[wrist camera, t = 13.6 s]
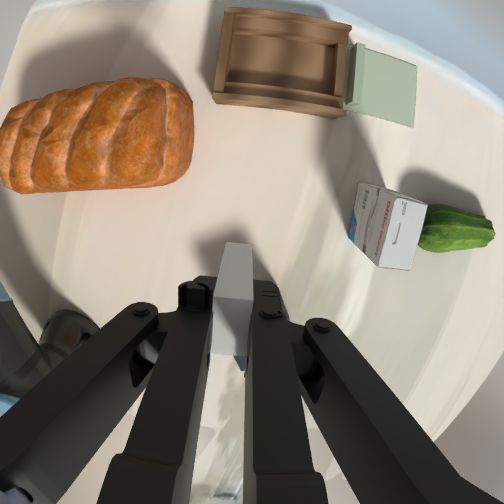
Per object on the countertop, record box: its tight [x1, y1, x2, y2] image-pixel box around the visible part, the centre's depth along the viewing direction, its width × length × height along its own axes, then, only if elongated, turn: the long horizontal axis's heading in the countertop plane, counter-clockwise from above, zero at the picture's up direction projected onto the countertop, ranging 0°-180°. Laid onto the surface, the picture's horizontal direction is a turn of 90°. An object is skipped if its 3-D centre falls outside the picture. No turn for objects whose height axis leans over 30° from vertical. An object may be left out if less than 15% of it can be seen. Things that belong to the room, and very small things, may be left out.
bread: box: [0, 78, 194, 194], centre depth 30 cm, size 14×26×16 cm, turn 88°
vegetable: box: [418, 204, 495, 253], centre depth 39 cm, size 7×7×20 cm
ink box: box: [348, 182, 428, 271], centre depth 36 cm, size 8×5×12 cm, turn 172°
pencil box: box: [212, 7, 352, 119], centre depth 32 cm, size 16×13×5 cm
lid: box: [343, 43, 417, 128], centre depth 33 cm, size 12×10×4 cm
